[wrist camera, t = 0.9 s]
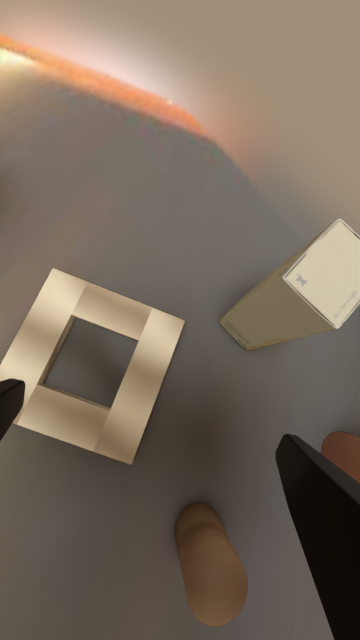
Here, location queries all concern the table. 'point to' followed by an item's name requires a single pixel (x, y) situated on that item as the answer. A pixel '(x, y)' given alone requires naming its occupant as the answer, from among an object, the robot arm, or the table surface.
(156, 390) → the socket block
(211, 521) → the walnut dowel
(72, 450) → the table surface
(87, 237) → the table surface
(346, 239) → the skincare box
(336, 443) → the orange peg
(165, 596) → the table surface
